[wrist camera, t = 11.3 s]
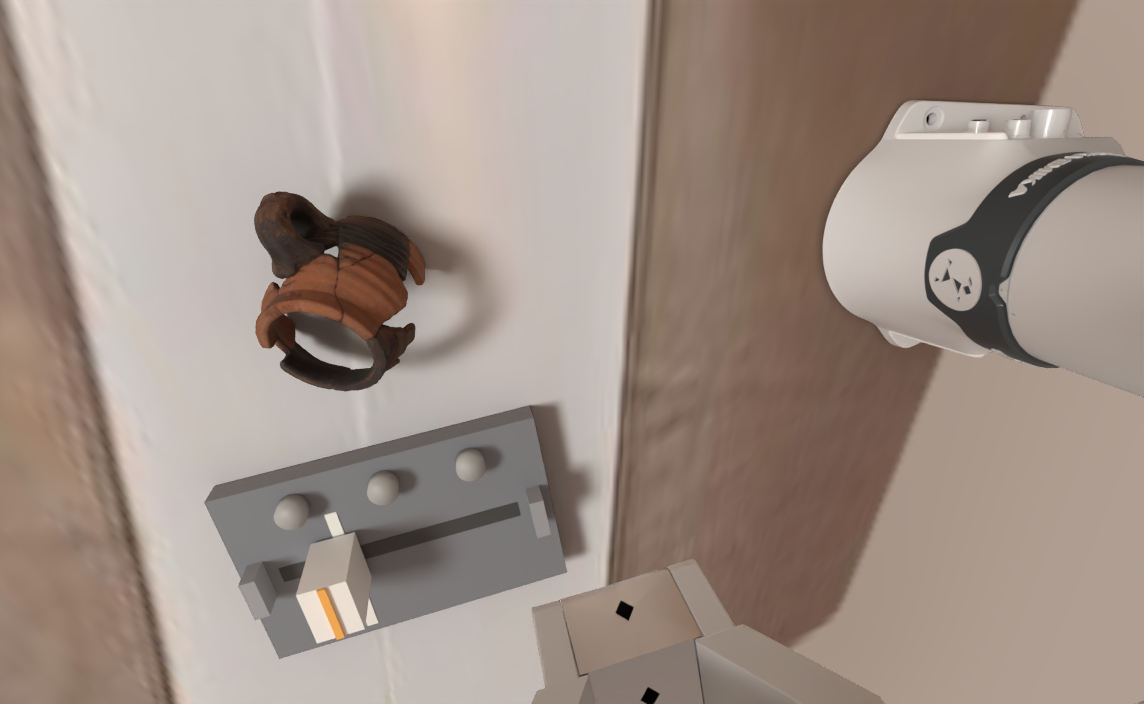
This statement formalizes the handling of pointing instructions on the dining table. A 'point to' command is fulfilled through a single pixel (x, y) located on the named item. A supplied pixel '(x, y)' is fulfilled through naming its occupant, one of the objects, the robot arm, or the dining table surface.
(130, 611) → the dining table surface
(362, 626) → the fader tab
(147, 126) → the dining table surface
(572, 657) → the robot arm
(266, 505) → the console
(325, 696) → the dining table surface
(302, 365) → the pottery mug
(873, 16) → the dining table surface
